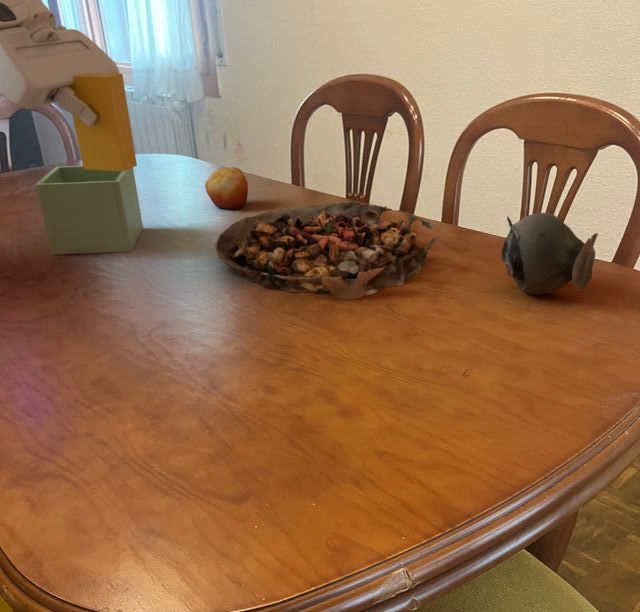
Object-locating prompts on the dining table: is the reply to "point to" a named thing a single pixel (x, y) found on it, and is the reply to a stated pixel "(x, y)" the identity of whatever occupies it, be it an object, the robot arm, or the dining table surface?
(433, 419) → the dining table surface
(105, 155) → the packet
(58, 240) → the bin
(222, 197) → the fruit
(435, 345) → the dining table surface
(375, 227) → the food dish
